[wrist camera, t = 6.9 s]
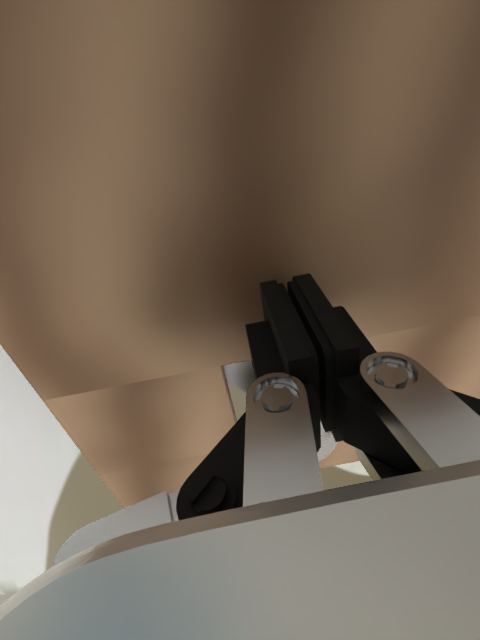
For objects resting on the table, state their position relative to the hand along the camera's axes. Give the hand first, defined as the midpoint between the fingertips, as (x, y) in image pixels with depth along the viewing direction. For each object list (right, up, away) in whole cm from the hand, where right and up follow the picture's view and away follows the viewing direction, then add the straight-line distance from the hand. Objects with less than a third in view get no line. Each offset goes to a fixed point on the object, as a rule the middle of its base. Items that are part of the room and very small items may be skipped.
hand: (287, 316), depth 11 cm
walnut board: (0, +1, +1) cm, 2 cm away
